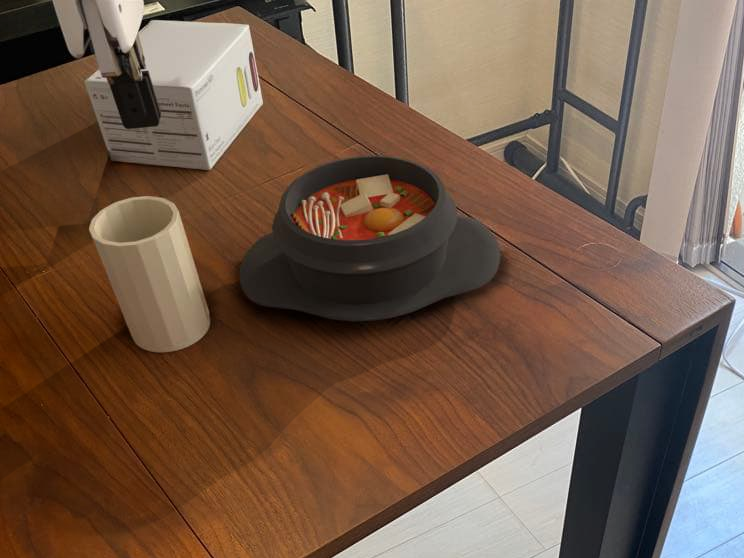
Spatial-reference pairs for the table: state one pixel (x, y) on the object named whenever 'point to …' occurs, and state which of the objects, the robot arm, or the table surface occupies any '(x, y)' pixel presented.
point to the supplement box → (186, 95)
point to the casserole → (367, 243)
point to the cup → (152, 272)
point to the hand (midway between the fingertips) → (143, 122)
